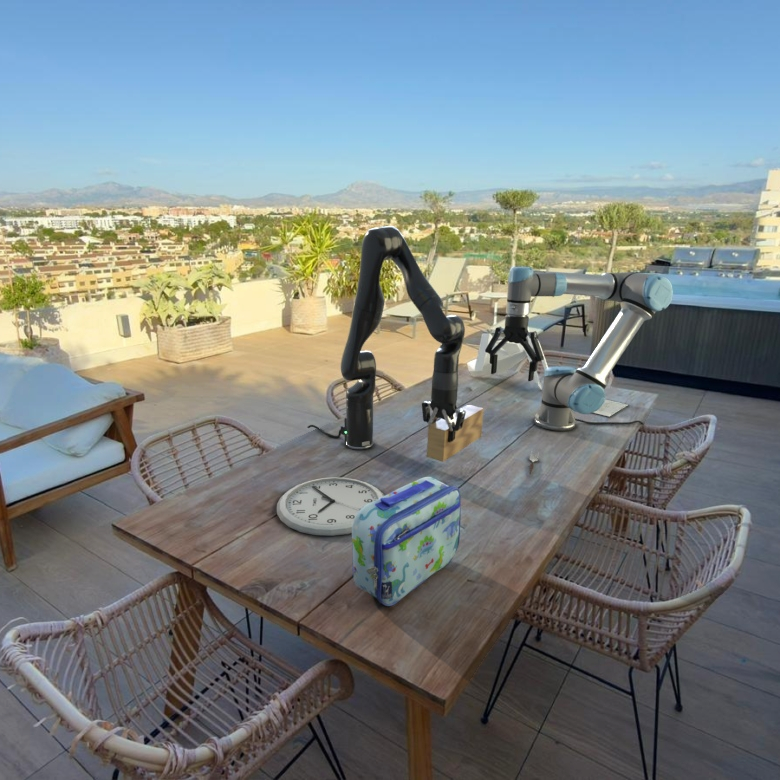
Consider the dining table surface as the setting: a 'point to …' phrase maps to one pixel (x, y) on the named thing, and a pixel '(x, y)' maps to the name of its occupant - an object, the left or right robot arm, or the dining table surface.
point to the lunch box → (405, 538)
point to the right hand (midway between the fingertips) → (511, 376)
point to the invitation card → (610, 408)
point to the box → (463, 437)
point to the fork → (533, 461)
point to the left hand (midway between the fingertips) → (441, 438)
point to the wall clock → (325, 505)
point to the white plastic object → (501, 358)
